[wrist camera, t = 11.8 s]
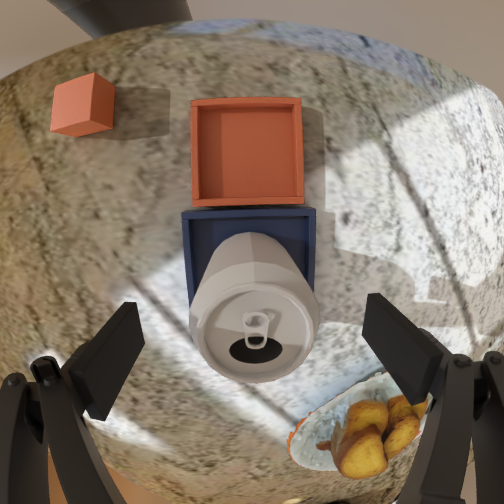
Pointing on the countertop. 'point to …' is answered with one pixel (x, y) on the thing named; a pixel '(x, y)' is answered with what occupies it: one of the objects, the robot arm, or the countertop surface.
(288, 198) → the terracotta tray
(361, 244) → the countertop surface
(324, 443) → the food on plate
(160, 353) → the countertop surface
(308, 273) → the navy tray
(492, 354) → the robot arm
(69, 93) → the block
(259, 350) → the can
